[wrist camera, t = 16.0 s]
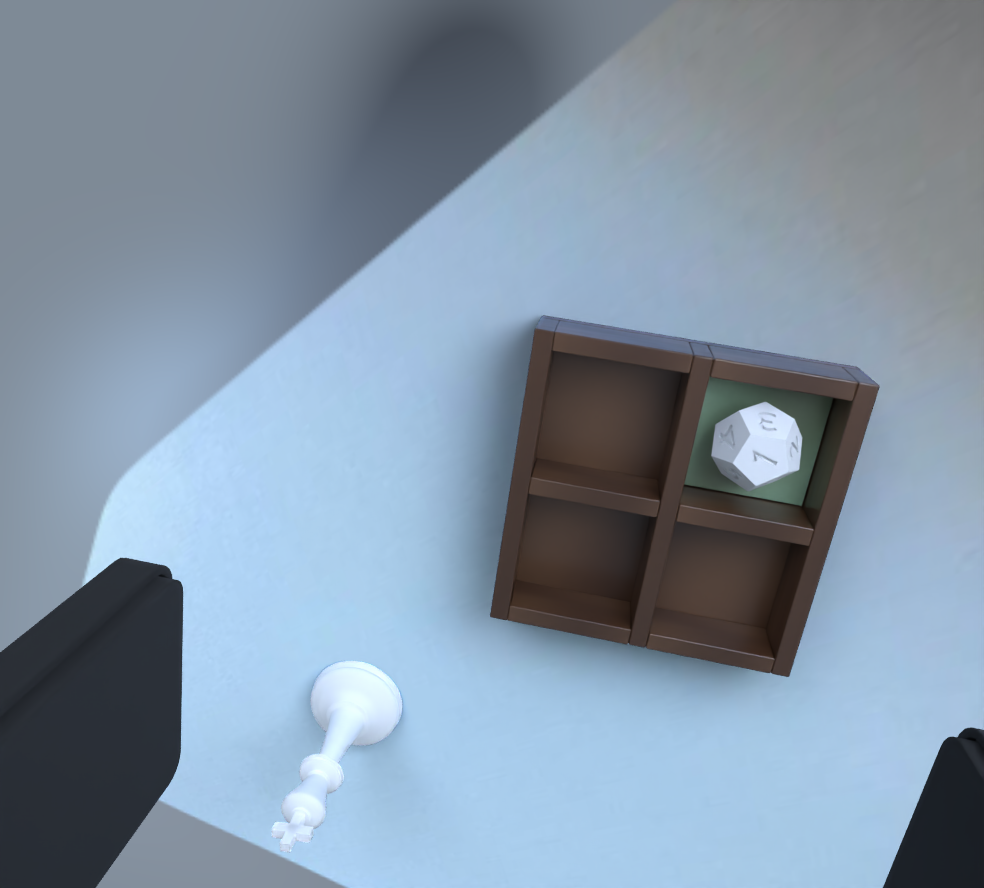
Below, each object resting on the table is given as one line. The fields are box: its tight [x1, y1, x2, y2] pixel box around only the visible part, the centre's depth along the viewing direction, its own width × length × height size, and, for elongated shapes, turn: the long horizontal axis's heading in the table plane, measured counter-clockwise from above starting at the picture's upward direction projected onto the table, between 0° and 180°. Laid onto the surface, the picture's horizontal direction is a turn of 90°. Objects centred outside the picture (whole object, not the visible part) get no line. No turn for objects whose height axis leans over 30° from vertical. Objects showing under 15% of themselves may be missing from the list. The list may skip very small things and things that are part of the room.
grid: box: [490, 315, 879, 677], centre depth 35 cm, size 13×13×3 cm
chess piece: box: [272, 661, 402, 852], centre depth 38 cm, size 5×5×10 cm
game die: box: [711, 402, 802, 491], centre depth 33 cm, size 4×4×3 cm
